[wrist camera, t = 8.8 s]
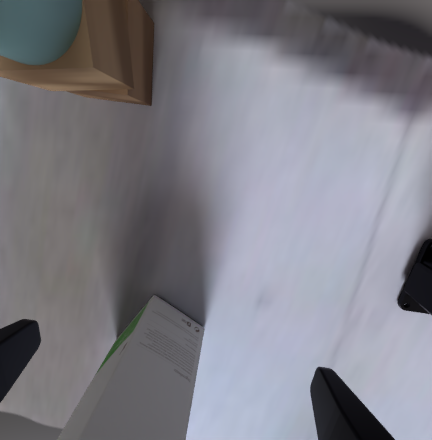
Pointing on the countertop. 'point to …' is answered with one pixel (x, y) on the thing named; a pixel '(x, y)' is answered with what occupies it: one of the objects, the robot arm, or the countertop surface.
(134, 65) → the tower base
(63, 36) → the teal block
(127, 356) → the skincare box
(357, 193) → the countertop surface
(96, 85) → the tan wooden block
